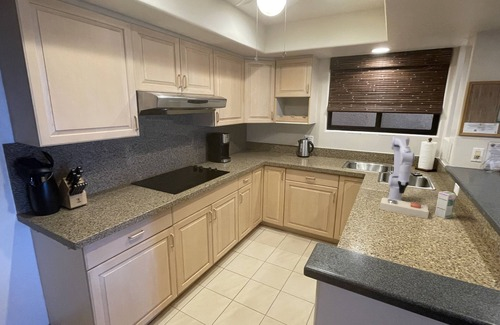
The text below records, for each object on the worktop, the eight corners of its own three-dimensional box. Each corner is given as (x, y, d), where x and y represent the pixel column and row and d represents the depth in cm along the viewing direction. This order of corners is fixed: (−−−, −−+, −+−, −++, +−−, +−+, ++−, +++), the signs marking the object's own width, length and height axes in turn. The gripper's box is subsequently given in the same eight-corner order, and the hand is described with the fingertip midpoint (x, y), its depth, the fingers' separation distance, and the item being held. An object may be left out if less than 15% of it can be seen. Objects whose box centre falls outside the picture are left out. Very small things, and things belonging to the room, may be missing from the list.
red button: (409, 209, 149) (410, 201, 148) (419, 211, 146) (420, 203, 145) (409, 211, 145) (410, 204, 144) (420, 214, 142) (421, 206, 141)
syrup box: (444, 218, 138) (449, 194, 135) (434, 214, 144) (438, 191, 141) (451, 217, 140) (457, 193, 137) (441, 213, 145) (446, 190, 142)
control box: (381, 203, 160) (382, 197, 159) (425, 211, 148) (427, 205, 147) (379, 209, 150) (380, 202, 149) (427, 218, 138) (428, 212, 137)
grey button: (387, 205, 155) (388, 198, 154) (396, 207, 153) (397, 200, 152) (386, 208, 151) (387, 201, 150) (396, 210, 148) (397, 203, 148)
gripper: (397, 168, 156) (394, 189, 159) (396, 173, 144) (393, 195, 147) (410, 170, 153) (407, 191, 156) (411, 175, 141) (407, 197, 144)
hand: (401, 193), depth 151 cm, fingers closed
